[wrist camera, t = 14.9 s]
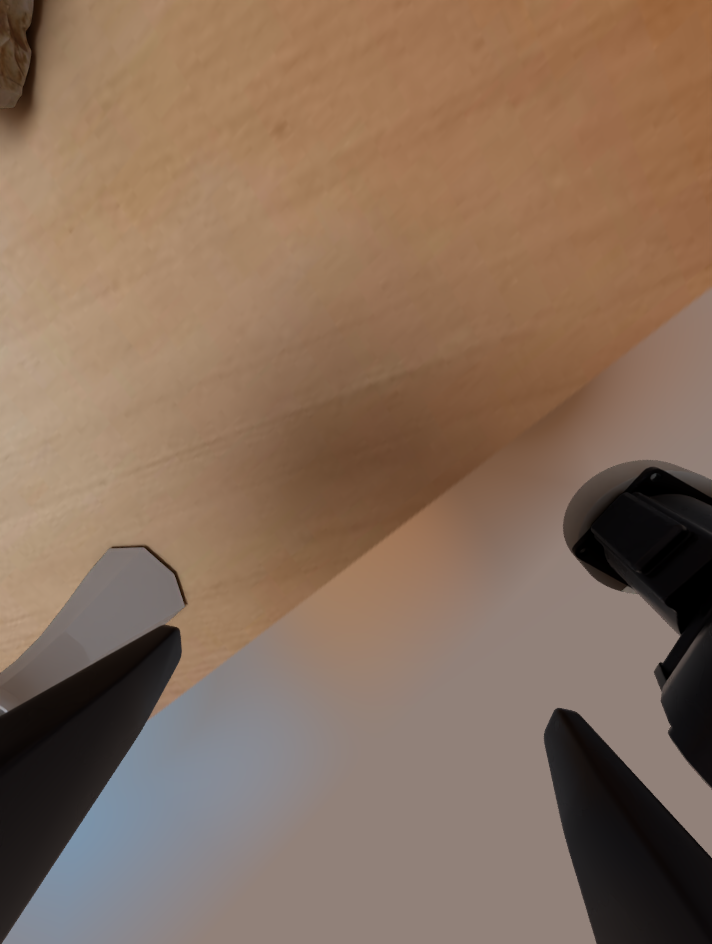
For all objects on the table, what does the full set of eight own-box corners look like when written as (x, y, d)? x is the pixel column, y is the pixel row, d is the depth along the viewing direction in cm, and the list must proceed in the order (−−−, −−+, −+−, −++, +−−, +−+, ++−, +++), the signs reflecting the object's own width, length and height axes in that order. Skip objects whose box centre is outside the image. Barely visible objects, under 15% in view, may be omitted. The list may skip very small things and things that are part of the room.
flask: (133, 632, 27) (-9, 777, 18) (78, 561, 26) (-111, 678, 16) (202, 610, 25) (84, 757, 16) (148, 530, 24) (-20, 644, 14)
